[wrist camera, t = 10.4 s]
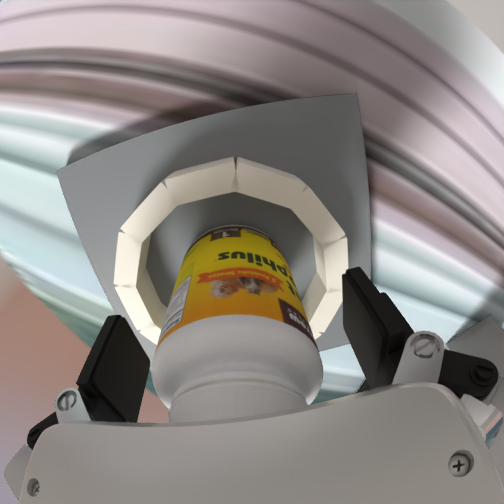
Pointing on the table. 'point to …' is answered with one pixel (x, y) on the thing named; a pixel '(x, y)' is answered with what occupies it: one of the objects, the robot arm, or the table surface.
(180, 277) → the supplement bottle
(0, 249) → the table surface
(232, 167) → the collar
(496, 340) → the perfume bottle
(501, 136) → the table surface
